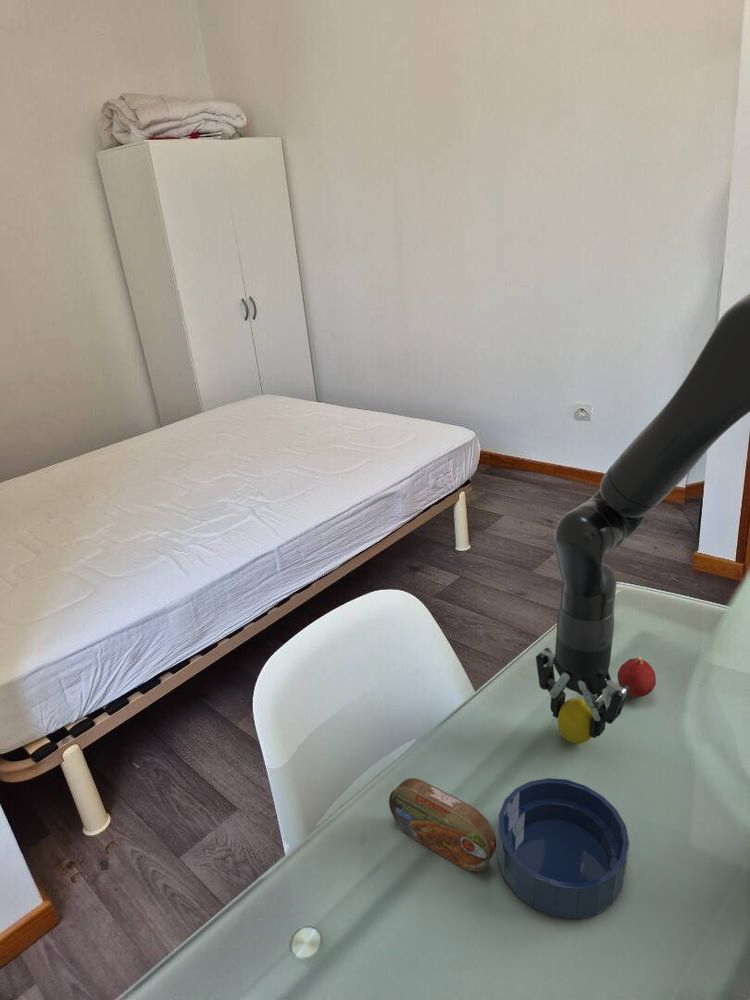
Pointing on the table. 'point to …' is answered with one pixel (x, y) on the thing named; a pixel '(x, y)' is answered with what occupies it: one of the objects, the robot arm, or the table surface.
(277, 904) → the table surface
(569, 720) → the lemon
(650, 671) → the onion
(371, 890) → the table surface
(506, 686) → the table surface
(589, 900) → the bowl
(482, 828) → the tin
